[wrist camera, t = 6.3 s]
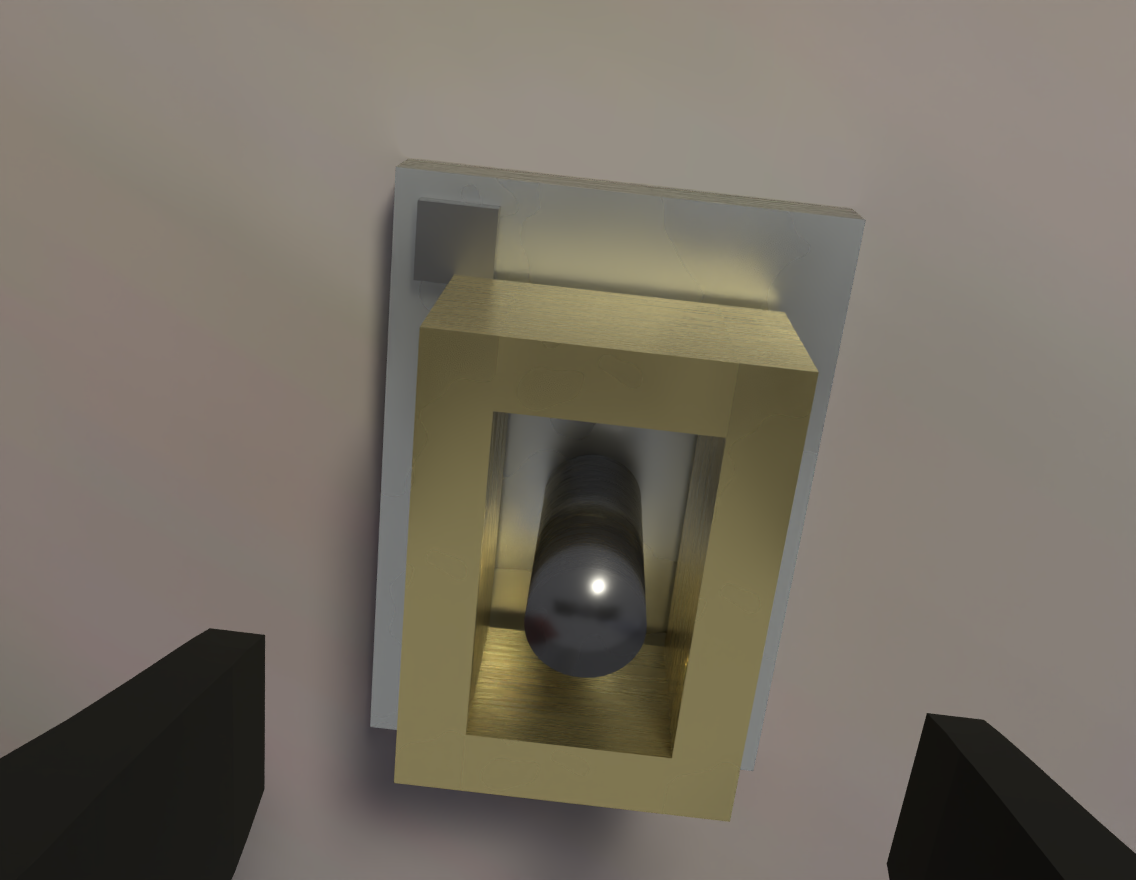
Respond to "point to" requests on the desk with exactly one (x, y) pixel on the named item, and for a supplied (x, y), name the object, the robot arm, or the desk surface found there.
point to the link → (705, 563)
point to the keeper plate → (584, 449)
